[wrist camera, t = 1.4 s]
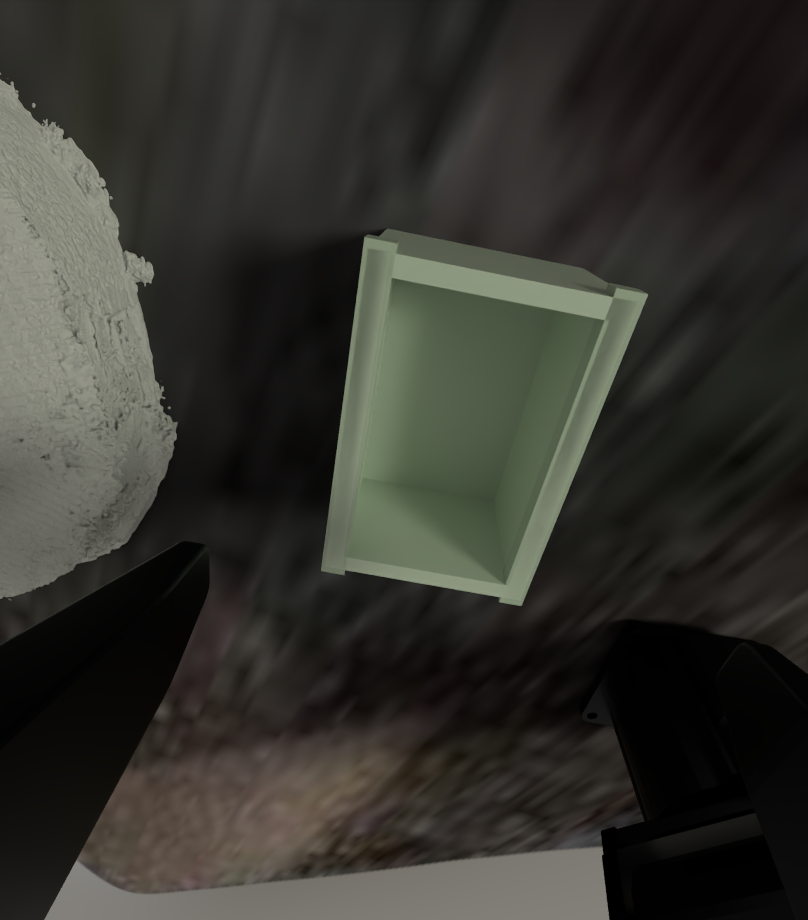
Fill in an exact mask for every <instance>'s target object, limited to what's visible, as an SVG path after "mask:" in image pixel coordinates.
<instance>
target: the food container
mask: <svg viewBox="0 0 808 920" xmlns="http://www.w3.org/2000/svg"><path fill="white" fill-rule="evenodd" d="M0 75H1V73H0ZM7 79H8V78H7ZM15 92H16V93H18V91H17V90H16V91H15V89H14V83H13V82H11V85H8V84H6V83H5V82H4V81H1V79H0V599H2V598H3V597H6V598H7V597H9V596H10V597H14V596H16V595H18V594H24V593H25V592H29V591H31V590H32V589H33V588H34V590H35V589H36V588H37V587H38V586H41V587H42V586H43V585H45V584H47V585H49V583H50V582H54V581H55V580H56V579H57V577H59V576H60V575H64V574H66V573H67V572H68V573H69V572H70V571H73V570H74V567H75V565H76V564H80V563H81V562H82V563H83V562H88V561H92V560H96V559H97V557H98V556H101V555H104V554H108V553H110V551H111V550H112V549H118V548H120V547H121V545H123V544H126V542H128V540H129V538H130V537H131V534H132V533H133V532H135V530H136V528H137V527H138V525H139V523H140V522H141V520H142V519H143V517H144V515H145V513H146V512H147V510H148V509H149V508H150V507H151V506H152V503H153V501H154V499H155V497H156V495H157V490H158V486H159V485H160V482H161V480H163V478H164V477H165V474H166V472H167V468H168V463H169V460H170V459H171V458H172V455H173V454H172V453H173V450H174V444H173V443H174V441H175V440H176V439H177V434H176V427H177V423H178V422H173V421H172V419H171V417H170V416H169V415H166V414H165V413H164V412H163V406H161V405H160V398H163V399H166V398H165V397H162V396H161V395H162V393H161V392H163V391H164V389H163V386H162V387H161V390H160V388H159V383H157V382H156V381H155V375H154V369H153V364H152V359H153V356H152V353H151V351H150V347H149V339H148V336H147V330H146V326H145V322H144V319H143V313H142V310H141V306H140V303H139V301H138V296H137V292H138V289H137V285H136V284H135V282H139V281H142V282H143V283H144V286H146V284H145V283H147V282H149V283H151V282H152V281H151V280H152V279H153V276H154V272H153V266H152V264H151V263H150V262H147V263H146V262H145V260H144V258H143V257H141V258H137V256H136V255H135V254H134V253H129V252H128V251H125V252H123V251H122V248H121V245H120V244H119V241H118V239H117V238H118V234H119V232H118V227H119V224H118V219H117V217H116V215H115V214H114V213H113V211H112V210H111V208H110V207H109V206H110V205H109V194H108V191H107V190H106V189H105V188H104V190H103V189H102V188H101V187H105V185H106V183H105V181H104V179H103V178H99V173H98V171H97V170H96V168H95V167H94V165H93V163H92V162H91V161H90V160H89V159H87V158H86V157H85V155H84V154H83V152H82V150H80V149H79V148H78V147H77V146H76V144H75V143H74V141H73V140H72V138H67V139H63V135H64V131H63V129H60V128H58V127H59V125H58V127H56V125H55V123H57V122H55V123H53V122H52V123H51V125H49V127H46V126H48V124H47V120H48V119H46V121H44V120H43V122H44V123H45V124H46V125H45V126H41V125H40V124H39V123H38V122H37V121H36V120H35V119H33V118H32V116H31V113H30V112H28V111H27V110H26V109H25V108H24V107H23V106H22V104H21V103H20V101H19V100H18V94H16V93H15ZM32 107H33V108H35V104H34V103H32ZM42 125H43V124H42ZM110 199H112V196H110ZM161 382H162V381H161ZM170 408H171V407H170V406H169V407H168V409H170ZM164 418H166V419H167V420H166V419H164ZM18 596H19V595H18ZM15 598H16V597H15ZM9 600H11V599H9ZM11 601H12V600H11Z"/></svg>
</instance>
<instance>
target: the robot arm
mask: <svg viewBox="0 0 808 920" xmlns="http://www.w3.org/2000/svg"><path fill="white" fill-rule="evenodd" d="M209 584H210V572H209V549H208V547H207V546H206V545H204V544H200V543H194V542H189V541H182V542H179V543H177V544H175V545H173V546H171V547H170V548H168V549H166V550H164V551H163V552H161V553H159V554H157V555H156V556H154V557H152V558H150V559H149V560H147V561H145V562H143V563H142V564H140V565H138V566H136V567H135V568H133V569H131V570H129V571H128V572H126V573H124V574H122V575H121V576H119V577H117V578H115V579H114V580H112V581H110V582H108V583H107V584H105V585H103V586H101V587H100V588H98V589H96V590H94V591H93V592H91V593H89V594H87V595H86V596H84V597H82V598H80V599H79V600H77V601H75V602H73V603H72V604H70V605H68V606H66V607H65V608H63V609H61V610H59V611H57V612H56V613H54V614H52V615H50V616H49V617H47V618H45V619H43V620H42V621H40V622H38V623H36V624H35V625H33V626H31V627H29V628H28V629H26V630H24V631H22V632H21V633H19V634H17V635H15V636H14V637H12V638H10V639H8V640H7V641H5V642H3V643H1V644H0V920H44V919H45V917H46V915H47V913H48V912H49V910H50V908H51V906H52V904H53V902H54V901H55V899H56V897H57V895H58V893H59V891H60V889H61V888H62V886H63V884H64V882H65V880H66V878H67V876H68V875H69V873H70V871H71V869H72V867H73V865H74V863H75V862H76V860H77V858H78V856H79V854H80V852H81V850H82V849H83V847H84V845H85V843H86V841H87V839H88V837H89V836H90V834H91V832H92V830H93V828H94V826H95V824H96V823H97V821H98V819H99V817H100V815H101V813H102V811H103V810H104V808H105V806H106V804H107V802H108V800H109V798H110V797H111V795H112V793H113V791H114V789H115V787H116V786H117V784H118V782H119V780H120V778H121V776H122V774H123V773H124V771H125V769H126V767H127V765H128V763H129V761H130V760H131V758H132V756H133V754H134V752H135V750H136V748H137V747H138V745H139V743H140V741H141V739H142V737H143V735H144V734H145V732H146V730H147V728H148V726H149V724H150V722H151V721H152V719H153V717H154V715H155V713H156V711H157V709H158V708H159V706H160V704H161V702H162V700H163V698H164V696H165V694H166V692H167V690H168V688H169V686H170V684H171V682H172V680H173V678H174V675H175V673H176V671H177V668H178V666H179V663H180V661H181V658H182V656H183V653H184V651H185V648H186V646H187V644H188V641H189V639H190V636H191V634H192V631H193V629H194V626H195V624H196V621H197V619H198V616H199V614H200V611H201V609H202V607H203V604H204V602H205V599H206V597H207V593H208V590H209ZM580 713H581V717H582V719H583V720H584V721H586V722H591V723H597V724H602V725H608V726H614V729H615V732H616V735H617V738H618V741H619V744H620V747H621V751H622V754H623V757H624V760H625V763H626V766H627V769H628V772H629V775H630V778H631V781H632V784H633V788H634V791H635V794H636V797H637V800H638V803H639V806H640V809H641V812H642V815H643V818H644V822H641V823H637V824H634V825H630V826H626V827H623V828H619V829H616V828H615V827H612V828H608V829H605V830H602V831H601V838H602V846H603V854H604V855H602V861H603V869H604V877H605V885H606V893H607V902H608V911H609V919H610V920H808V674H807V673H806V672H804V671H803V670H802V669H800V668H799V667H798V666H796V665H795V664H794V663H792V662H791V661H790V660H788V659H787V658H786V657H785V656H783V655H782V654H781V653H779V652H778V651H777V650H775V649H774V648H772V647H771V646H768V645H765V644H760V643H754V642H748V641H742V640H736V639H730V638H725V637H719V636H713V635H707V634H702V633H696V632H690V631H685V630H679V629H673V628H668V627H662V626H656V625H651V624H645V623H636V622H635V623H631V624H629V625H627V626H626V627H625V628H624V630H623V631H622V633H621V635H620V637H619V639H618V640H617V642H616V644H615V646H614V647H613V649H612V651H611V653H610V655H609V656H608V658H607V660H606V662H605V663H604V665H603V667H602V669H601V670H600V672H599V674H598V676H597V678H596V679H595V681H594V683H593V685H592V686H591V688H590V690H589V692H588V694H587V695H586V697H585V699H584V701H583V702H582V704H581V706H580Z"/></svg>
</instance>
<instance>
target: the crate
mask: <svg viewBox="0 0 808 920" xmlns="http://www.w3.org/2000/svg"><path fill="white" fill-rule="evenodd" d="M647 296H648V294H647V293H645V292H643V291H641V290H639V289H636V288H631V287H626V286H621V285H616V284H611V283H606V282H605V281H603V280H602V279H600V278H598V277H597V276H595V275H593V274H592V273H590V272H588V271H587V270H585V269H583V268H579V267H574V266H569V265H564V264H559V263H554V262H549V261H544V260H539V259H534V258H529V257H524V256H520V255H515V254H510V253H505V252H500V251H495V250H490V249H485V248H480V247H475V246H470V245H465V244H460V243H455V242H451V241H446V240H441V239H436V238H431V237H426V236H421V235H416V234H411V233H406V232H401V231H396V230H391V229H386V230H385V231H384V232H383V233H382V234H381V235H380V236H374V235H369V234H368V235H366V236H365V237H364V245H363V252H362V260H361V268H360V275H359V283H358V291H357V298H356V306H355V314H354V322H353V329H352V337H351V345H350V352H349V360H348V368H347V375H346V383H345V391H344V398H343V406H342V414H341V422H340V429H339V437H338V445H337V452H336V460H335V468H334V475H333V483H332V491H331V498H330V506H329V514H328V521H327V529H326V537H325V545H324V552H323V560H322V568H321V571H324V572H330V573H336V574H342V575H344V573H345V570H348V571H354V572H359V573H365V574H371V575H376V576H382V577H388V578H393V579H399V580H405V581H411V582H416V583H422V584H428V585H433V586H439V587H445V588H451V589H456V590H462V591H468V592H473V593H479V594H485V595H490V596H496V597H498V598H499V602H502V603H507V604H513V605H519V606H522V603H523V601H524V598H525V596H526V593H527V591H528V588H529V586H530V583H531V581H532V579H533V576H534V574H535V571H536V569H537V566H538V564H539V561H540V559H541V556H542V554H543V551H544V549H545V547H546V544H547V542H548V539H549V537H550V534H551V532H552V529H553V527H554V524H555V522H556V520H557V517H558V515H559V512H560V510H561V507H562V505H563V502H564V500H565V497H566V495H567V493H568V490H569V488H570V485H571V483H572V480H573V478H574V475H575V473H576V470H577V468H578V465H579V463H580V461H581V458H582V456H583V453H584V451H585V448H586V446H587V443H588V441H589V438H590V436H591V434H592V431H593V429H594V426H595V424H596V421H597V419H598V416H599V414H600V411H601V409H602V407H603V404H604V402H605V399H606V397H607V394H608V392H609V389H610V387H611V384H612V382H613V379H614V377H615V375H616V372H617V370H618V367H619V365H620V362H621V360H622V357H623V355H624V352H625V350H626V348H627V345H628V343H629V340H630V338H631V335H632V333H633V330H634V328H635V325H636V323H637V321H638V318H639V316H640V313H641V311H642V308H643V306H644V303H645V301H646V298H647Z"/></svg>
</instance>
